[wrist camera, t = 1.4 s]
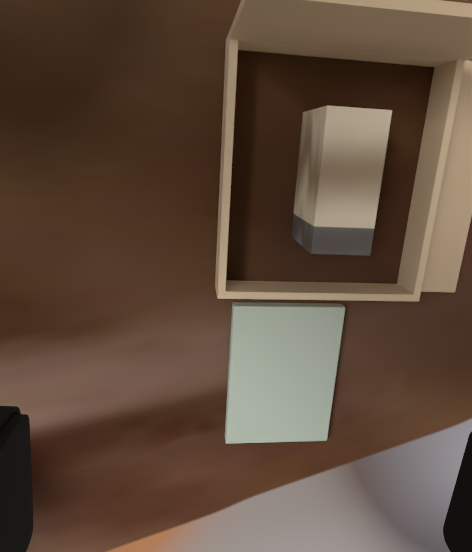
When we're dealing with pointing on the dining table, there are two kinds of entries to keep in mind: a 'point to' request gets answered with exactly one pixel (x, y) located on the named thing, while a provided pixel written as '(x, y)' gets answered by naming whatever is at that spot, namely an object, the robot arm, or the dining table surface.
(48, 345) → the dining table surface
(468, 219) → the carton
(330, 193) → the block
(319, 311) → the mat
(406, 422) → the dining table surface
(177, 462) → the dining table surface
